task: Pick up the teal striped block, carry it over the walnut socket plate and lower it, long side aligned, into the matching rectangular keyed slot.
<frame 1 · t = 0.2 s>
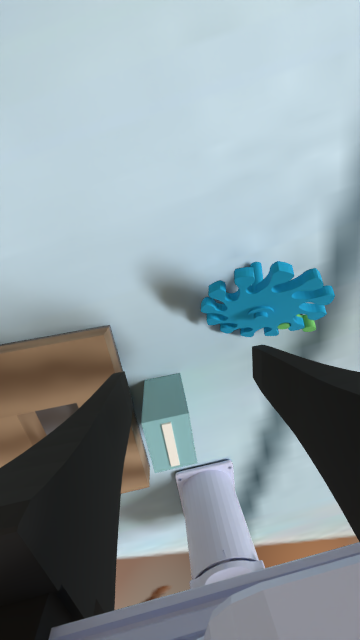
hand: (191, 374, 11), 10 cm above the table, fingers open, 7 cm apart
teal striped block: (166, 397, 23), on the table
keyed socket: (70, 418, 22), on the table
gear: (245, 299, 21), on the table
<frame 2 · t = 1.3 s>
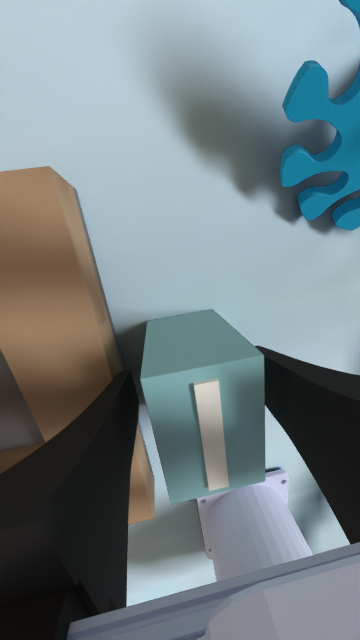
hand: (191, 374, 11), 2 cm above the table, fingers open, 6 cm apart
teal striped block: (186, 358, 13), on the table
keyed socket: (9, 392, 12), on the table
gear: (345, 155, 11), on the table
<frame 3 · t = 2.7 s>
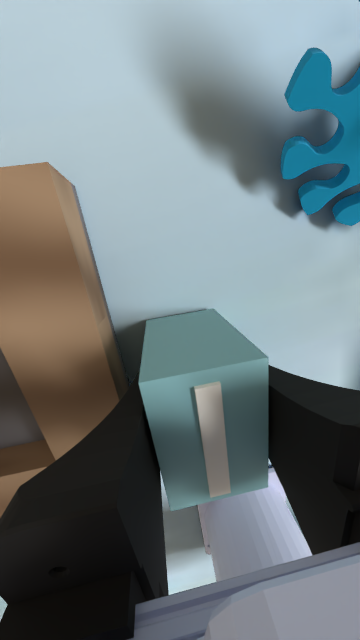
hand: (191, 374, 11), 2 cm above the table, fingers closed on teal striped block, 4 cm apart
teal striped block: (186, 358, 13), on the table, touching gripper
keyed socket: (9, 390, 12), on the table
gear: (347, 149, 10), on the table
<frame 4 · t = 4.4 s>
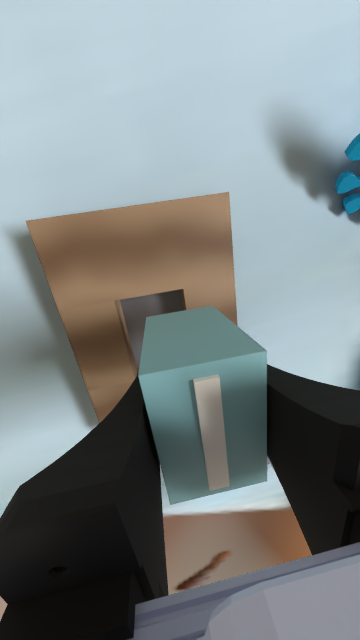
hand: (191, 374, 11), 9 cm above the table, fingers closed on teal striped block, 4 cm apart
teal striped block: (186, 355, 13), point 7 cm above the table, touching gripper
keyed socket: (157, 327, 19), on the table
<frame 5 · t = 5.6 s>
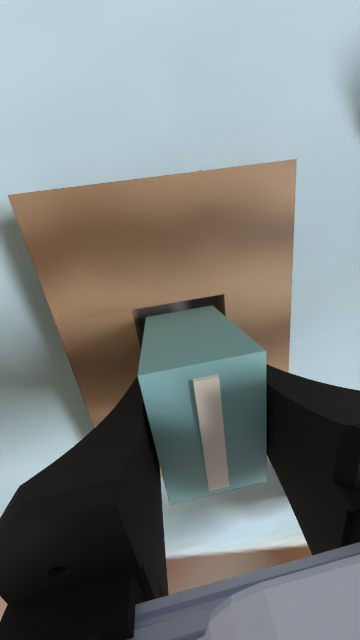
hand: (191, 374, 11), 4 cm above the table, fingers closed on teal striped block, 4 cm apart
teal striped block: (186, 355, 13), point 2 cm above the table, touching gripper
keyed socket: (181, 342, 15), on the table
when the fingers open (3 cm above the table, at t = 6.7 s): teal striped block drops 1 cm, resting on keyed socket.
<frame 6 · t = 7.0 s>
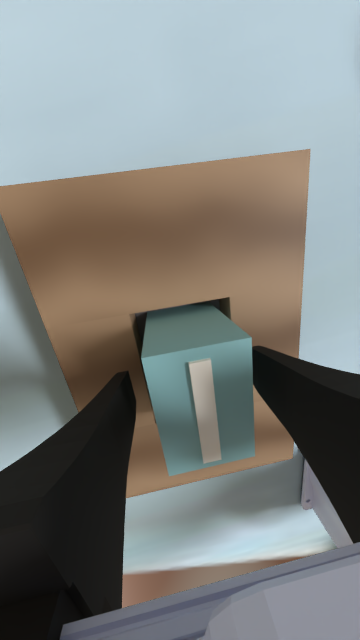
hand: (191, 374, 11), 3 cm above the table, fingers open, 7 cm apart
teal striped block: (184, 348, 14), resting on keyed socket
keyed socket: (183, 347, 14), on the table
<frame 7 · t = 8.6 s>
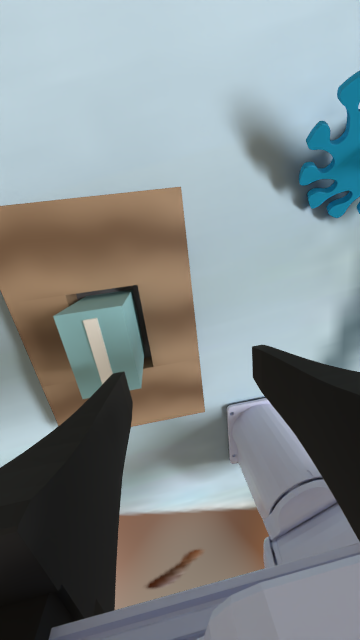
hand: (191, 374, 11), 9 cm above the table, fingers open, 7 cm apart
teal striped block: (117, 324, 18), resting on keyed socket
keyed socket: (118, 324, 19), on the table
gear: (338, 171, 17), on the table
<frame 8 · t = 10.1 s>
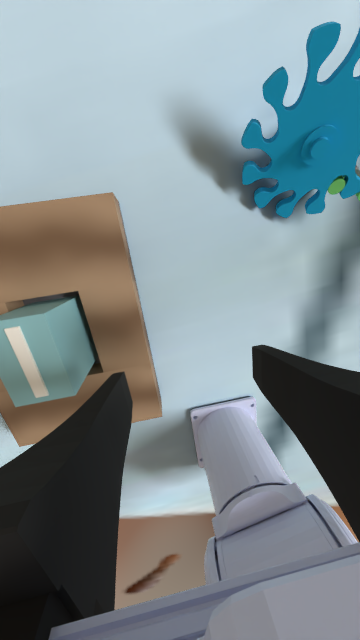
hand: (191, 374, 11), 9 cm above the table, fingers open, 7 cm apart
teal striped block: (68, 330, 18), resting on keyed socket
keyed socket: (70, 329, 19), on the table
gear: (286, 171, 17), on the table
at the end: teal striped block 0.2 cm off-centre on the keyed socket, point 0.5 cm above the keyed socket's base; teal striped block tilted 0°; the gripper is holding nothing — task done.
